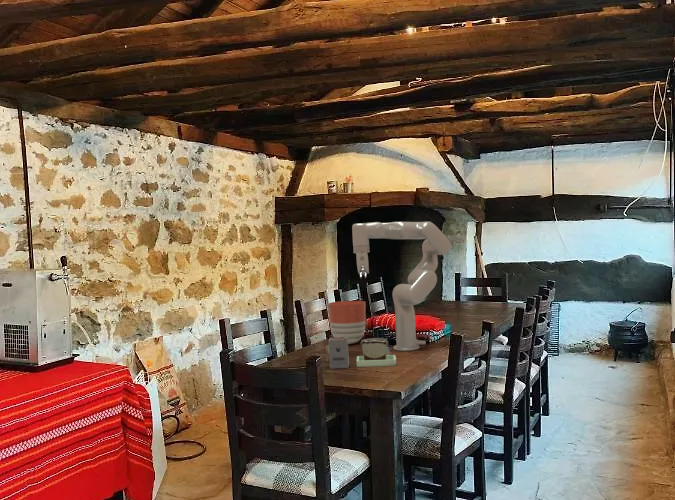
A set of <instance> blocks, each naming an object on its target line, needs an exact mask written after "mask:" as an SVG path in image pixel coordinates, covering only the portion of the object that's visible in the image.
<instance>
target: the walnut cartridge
mask: <svg viewBox="0 0 675 500" xmlns="http://www.w3.org/2000/svg"><path fill="white" fill-rule="evenodd" d="M325 357H326V359H325V361H327V362H326V363H329V353H328V344H327V345H325Z"/></svg>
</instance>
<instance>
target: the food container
mask: <svg viewBox="0 0 675 500" xmlns="http://www.w3.org/2000/svg"><path fill="white" fill-rule="evenodd" d="M360 340H361V341H360V346H362V348H361V349H362V356H364V360H386V355H387V349H388V345H389V341H388V339H386V338H381V337H374V338H373V337H371V338H365V339H360Z"/></svg>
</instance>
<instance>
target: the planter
mask: <svg viewBox="0 0 675 500" xmlns="http://www.w3.org/2000/svg"><path fill="white" fill-rule="evenodd" d="M366 306H367V305H366V301H363V300H342V301H341V300H340V301H339V300H338V301H334V302H332V301H331V302H328V314H329V324H330V325H329V326H330V331H331V333H332V336H333V337H348V345H353V344H356V343H358V342H359V341H360V340H362V338H363V336H364V334H365V331H366Z"/></svg>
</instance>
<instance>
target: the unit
mask: <svg viewBox="0 0 675 500" xmlns="http://www.w3.org/2000/svg"><path fill="white" fill-rule="evenodd" d="M327 345H328V353H329V362H328V363H329V369H330V370H331V369H335V370H336V369H349V366H350V360H349V359H350V357H349V356H350V355H349V344H348V337H334V336H333V337H329V339H328V343H327Z"/></svg>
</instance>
